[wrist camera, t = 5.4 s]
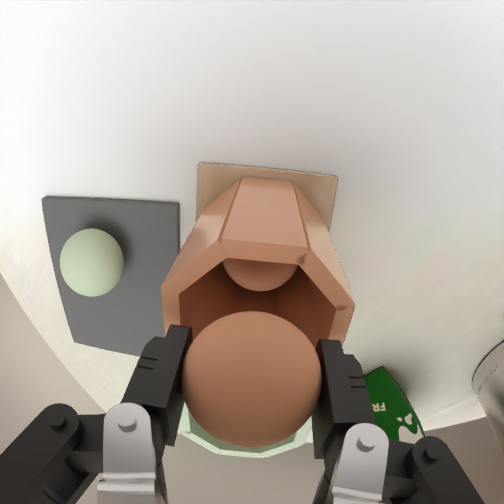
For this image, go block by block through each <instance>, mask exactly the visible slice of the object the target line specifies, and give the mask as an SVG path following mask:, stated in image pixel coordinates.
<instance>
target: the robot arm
mask: <svg viewBox="0 0 504 504" xmlns="http://www.w3.org/2000/svg"><path fill="white" fill-rule="evenodd" d="M192 342H193V334H192V327H190V326H182V325H175V324H171V325H170V326H169V329H168V331H167V334H166V336H165V338H164V337H157V336H155V337H153V338H152V339H151V340H150V341H149V342H148V343H147V344H146V345H145V346H144V349H143V351H142V353H141V356H140V358H139V360H138V363H137V366H136V367H135V370H134V372H133V375H132V377H131V379H130V382H129V384H128V387H127V389H126V392H125V394H124V396H123V399H122V401H121V403H120V404H117V405H115V406H113V407H112V408H111V409H109V411H108V412H107V413H105V414H99V415H78V414H77V413H76V411H75V410H74V409H73V408H72V407H70V406H69V405H66V404H62V403H59V404H53V405H50V406H48V407H46V408H45V409H44V410H43V411H42V412H41V413H40V414H39V415H38V416H37V417H36V418H35V419H34V420H33V421H32V422H31V423H30V424H29V425H28V426H27V427H26V428H25V429H24V431H23V432H22V433H21V434H20V435H19V436H18V437H17V438H16V439H15V440H14V441H13V442H12V443H11V444H10V445H9V446H8V447H7V448H6V450H5V451H4V452H3V453H2V454H1V455H0V504H76V502H77V501H78V500H79V498H80V497H81V496H82V495H83V493H84V492H85V491H86V489H87V488H88V487H89V485H90V484H91V483H92V481H93V480H94V479H95V477H96V476H97V475H98V474H99V473H103V478H102V480H100V481H99V483H98V488H97V502H98V504H169V502H168V496H167V489H166V483H165V476H164V468H163V461H162V456H163V452H164V449H165V445H169V446H174V444H175V440H176V436H177V431H178V427H179V423H180V419H181V415H182V411H183V406H184V402H185V401H184V398H183V394H182V388H181V373H182V366H183V361H184V358H185V355H186V353H187V350H188V348H189V347H190V345H191V343H192ZM315 351H316V353H317V355H318V358H319V361H320V365H321V371H322V386H321V394H320V397H319V400H318V403H317V406H316V408H315V410H314V411H313V413H312V415H311V418H312V430H313V442H314V455H315V459H324V464H325V469H324V470H323V471H322V474H321V477H320V481H319V484H318V487H317V491H316V494H315V497H314V500H313V503H312V504H484V502H483V500H482V499H481V497H480V496H479V494H478V492H477V491H476V489H475V488H474V486H473V484H472V483H471V481H470V480H469V478H468V477H467V476H466V474H465V472H464V470H463V469H462V467H461V466H460V464H459V463H458V461H457V460H456V458H455V457H454V455H453V454H452V452H451V451H450V449H449V448H448V446H447V445H446V444H445V443H444V442H443V441H442V440H441V439H439V438H437V437H432V436H427V437H423V438H421V439H419V440H418V441H417V442H416V443H415V444H412V443H407V442H402V441H397V440H393V439H390V438H388V437H387V435H386V434H385V432H384V431H383V430H382V429H381V428H379V427H378V426H377V425H376V423H375V419H374V415H373V411H372V407H371V403H370V399H369V395H368V391H367V388H366V383H365V379H364V375H363V371H362V368H361V365H360V363H359V362H358V361H357V360H356V358H355V357H354V356H353V355H348V354H344V353H343V349H342V345H341V341H340V340H331V339H319V340H318V342H317V345H316V349H315ZM472 385H473V389H474V391H475V393H476V395H477V397H478V399H479V401H480V403H481V405H482V407H483V409H484V411H485V414H486V416H487V418H488V420H489V423H490V425H491V427H492V429H493V432H494V434H495V436H496V439H497V441H498V443H499V446H500V448H501V451H502V453H503V456H504V342H503V343H501V344H500V345H499V346H497V347H496V348H495V349H494V350H493V351H492V352H491V353H490V354H489V355H488V356H487V357H486V358H485V359H484V360H483V362H482V363H481V364H480V366H479V367H478V369H477V371H476V372H475V374H474V377H473V381H472Z"/></svg>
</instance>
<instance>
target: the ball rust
mask: <svg viewBox="0 0 504 504" xmlns="http://www.w3.org/2000/svg"><path fill="white" fill-rule="evenodd" d="M321 386H322V371H321V365H320V361H319V358H318V355H317V353H316V351H315V349H314V347H313V345H312V344H311V342H310V341H309V339H308V338H307V337H306V336H305V334H304V333H303V332H302V331H300V330H299V329H298V328H297V327H296V326H295V325H293V324H292V323H290V322H289V321H287V320H285V319H283V318H281V317H278V316H276V315H273V314H269V313H265V312H257V311H246V312H238V313H234V314H230V315H227V316H225V317H222V318H220V319H218V320H216V321H214V322H213V323H211V324H210V325H208V326H207V327H206V328H204V329H203V330H202V331H201V332H200V333H199V334H198V336H197V337H196V338H195V339H194V341H193V342H192V343H191V345H190V347H189V348H188V350H187V353H186V355H185V358H184V361H183V366H182V373H181V388H182V394H183V398H184V401H185V403H186V406H187V408H188V410H189V412H190V413H191V415H192V417H193V418H194V419H195V421H196V422H197V423H198V424H199V425H200V426H201V427H202V428H203V429H204V430H205V431H206V432H208V433H209V434H210V435H212V436H213V437H215V438H217V439H219V440H221V441H223V442H226V443H228V444H231V445H235V446H241V447H262V446H267V445H271V444H274V443H277V442H280V441H282V440H284V439H286V438H288V437H289V436H291V435H293V434H294V433H295V432H297V431H298V430H299V429H300V428H301V427H302V426H303V425H304V424H305V423H306V422H307V420H308V419H309V418H310V417H311V415H312V413H313V411H314V410H315V408H316V406H317V403H318V400H319V397H320V394H321Z"/></svg>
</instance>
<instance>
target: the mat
mask: <svg viewBox="0 0 504 504" xmlns="http://www.w3.org/2000/svg"><path fill="white" fill-rule="evenodd" d="M42 207H43V213H44V220H45V226H46V232H47V238H48V243H49V248H50V253H51V258H52V263H53V267H54V272H55V276H56V280H57V284H58V288H59V292H60V296H61V300H62V304H63V307H64V311H65V314H66V318H67V321H68V324H69V327H70V331H71V334H72V337H73V340H74V342H76V343H80V344H84V345H88V346H92V347H97V348H101V349H106V350H110V351H115V352H120V353H124V354H129V355H135V356H141V353H142V351H143V349H144V346H145V345H146V344H147V343H148V342H149V341H150V340H151V339H152V338H153V337H155V336H157V337H164V338H165V327H164V317H163V307H162V295H161V286H162V284H163V282H164V280H165V278H166V276H167V274H168V273H169V271H170V269H171V267H172V265H173V263H174V262H175V260H176V258H177V256H178V254H179V252H180V245H179V203H170V202H155V201H139V200H121V199H101V198H77V197H44V198H42ZM84 229H99V230H102V231H104V232H106V233H108V234H110V235H111V236H112V237H113V238H114V239H115V240H116V241H117V243H118V244H119V246H120V248H121V250H122V253H123V259H124V267H123V272H122V275H121V278H120V280H119V281H118V283H117V284H116V285H115V287H114V288H113V289H111V290H110V291H109V292H107V293H105V294H103V295H100V296H94V297H90V296H84V295H81V294H79V293H77V292H75V291H74V290H72V289H71V288H70V287H69V286H68V284H67V283H66V282H65V280H64V278H63V276H62V273H61V269H60V255H61V251H62V249H63V246H64V245H65V243H66V242H67V240H68V239H69V238H70V237H71V236H72V235H74V234H75V233H77V232H79V231H81V230H84Z"/></svg>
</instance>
